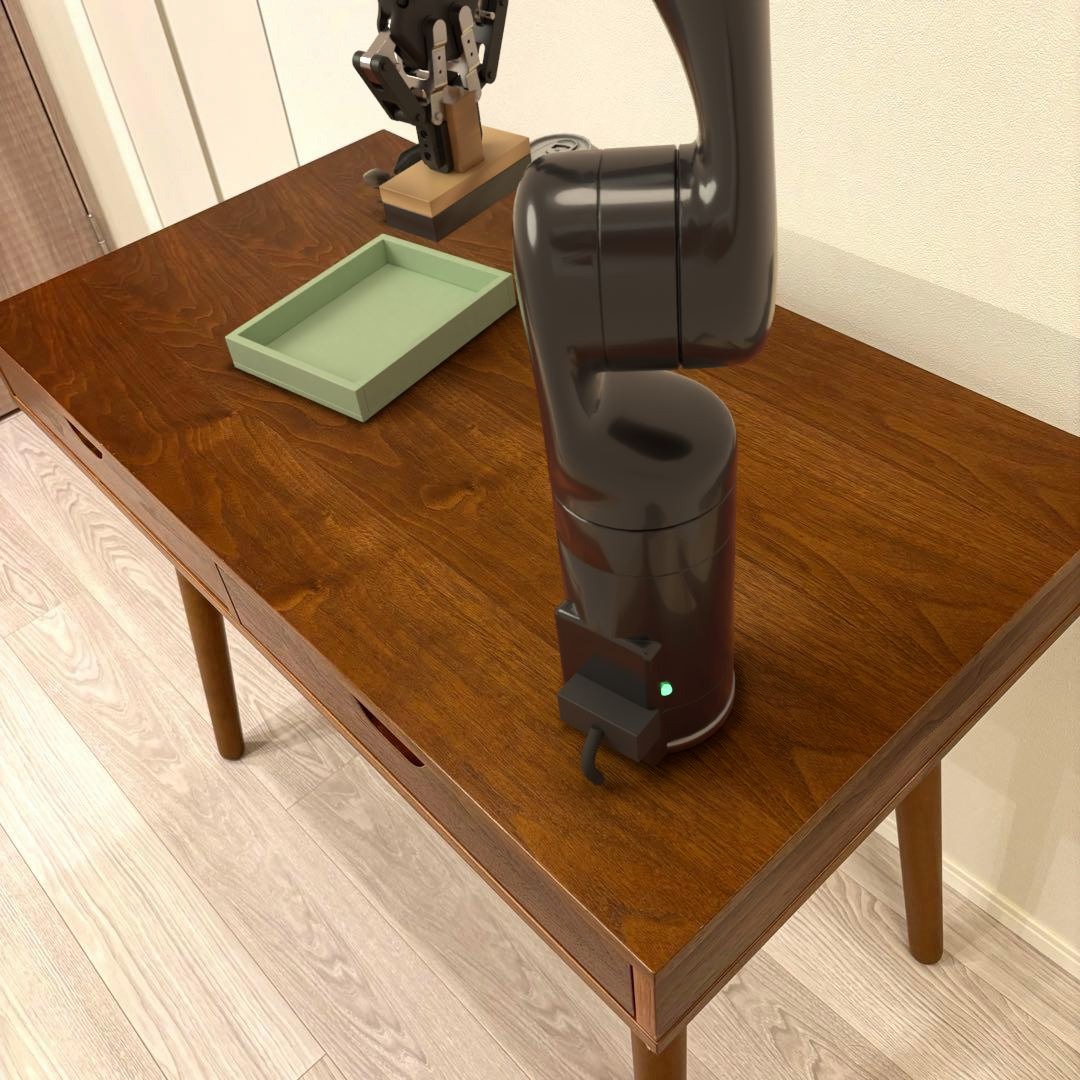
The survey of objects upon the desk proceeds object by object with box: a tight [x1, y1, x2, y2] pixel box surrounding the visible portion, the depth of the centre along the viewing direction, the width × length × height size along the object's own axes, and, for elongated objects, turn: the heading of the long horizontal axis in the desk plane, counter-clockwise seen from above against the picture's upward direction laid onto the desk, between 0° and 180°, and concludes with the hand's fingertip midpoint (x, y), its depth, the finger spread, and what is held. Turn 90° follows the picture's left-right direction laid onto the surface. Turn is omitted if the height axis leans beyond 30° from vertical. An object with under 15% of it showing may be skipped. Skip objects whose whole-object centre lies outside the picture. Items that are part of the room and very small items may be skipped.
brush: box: [378, 85, 532, 244], centre depth 82 cm, size 11×5×8 cm, turn 141°
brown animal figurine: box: [362, 142, 422, 204], centre depth 115 cm, size 8×7×9 cm
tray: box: [224, 233, 517, 423], centre depth 99 cm, size 20×16×3 cm
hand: (454, 159), depth 83 cm, fingers closed on brush, 2 cm apart
